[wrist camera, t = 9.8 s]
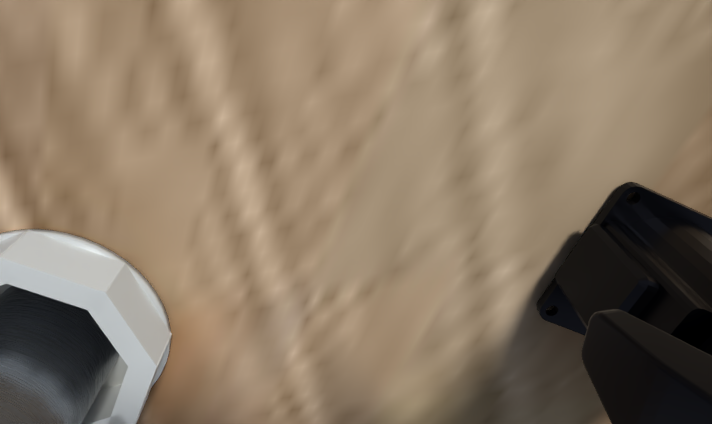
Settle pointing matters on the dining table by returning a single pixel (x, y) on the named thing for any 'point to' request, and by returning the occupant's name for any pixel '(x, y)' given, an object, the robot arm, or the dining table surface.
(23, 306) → the canister
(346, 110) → the dining table surface
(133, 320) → the collar
